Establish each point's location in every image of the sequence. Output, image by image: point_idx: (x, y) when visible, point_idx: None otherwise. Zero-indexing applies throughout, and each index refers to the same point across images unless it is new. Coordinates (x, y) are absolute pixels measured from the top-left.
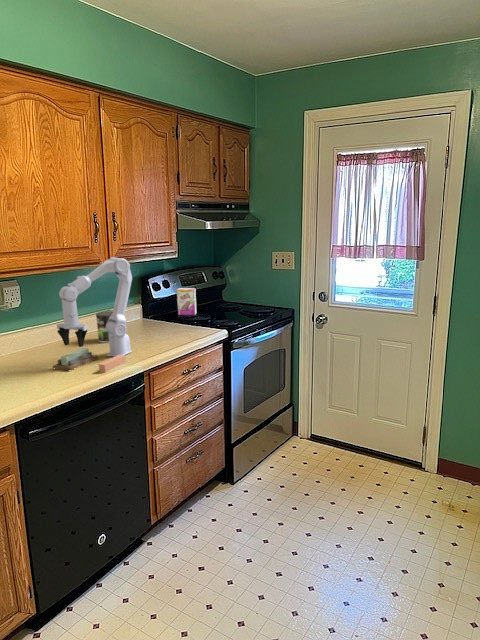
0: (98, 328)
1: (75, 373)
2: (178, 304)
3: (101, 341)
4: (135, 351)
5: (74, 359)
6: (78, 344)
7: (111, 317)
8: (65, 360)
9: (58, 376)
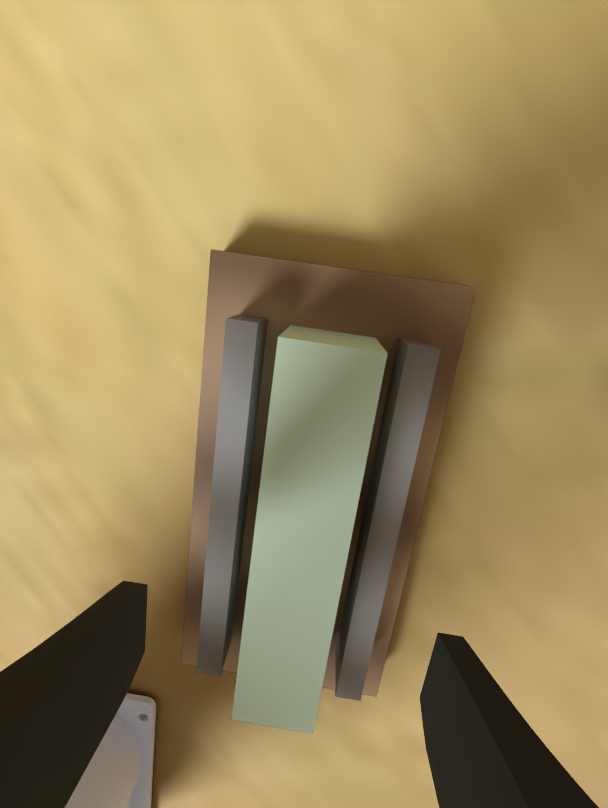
0: None
1: (115, 191)
2: None
3: None
4: None
5: (219, 403)
6: (121, 608)
7: None
8: (305, 333)
9: (243, 42)
